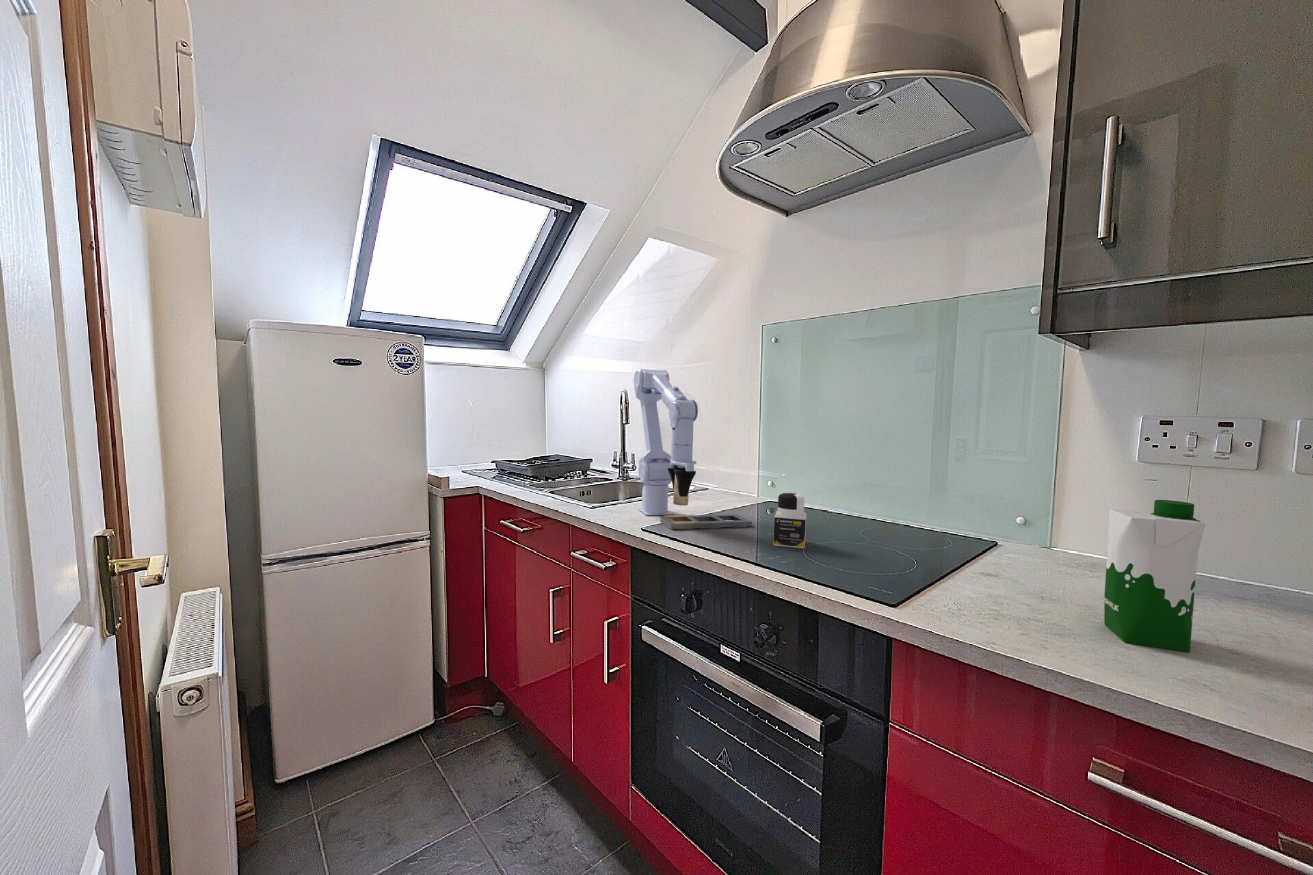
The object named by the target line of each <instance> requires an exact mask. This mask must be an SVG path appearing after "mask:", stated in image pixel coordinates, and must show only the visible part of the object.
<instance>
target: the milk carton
mask: <svg viewBox="0 0 1313 875" xmlns="http://www.w3.org/2000/svg"><path fill="white" fill-rule="evenodd" d="M1194 511H1195V504H1194V503H1192V502H1185V501H1180V500H1178V501H1177V500H1169V499H1155V500H1154V503H1153V511H1148V510H1140V509H1130V510H1126V509H1115V508H1110V509H1109V514H1108V515H1109V518H1108V519H1109V520H1108V521H1109V522H1108V523H1109V524H1108V539H1107V553H1106V569H1105V582H1104V583H1105V584H1104V594H1103V595H1104V596H1103V597H1104V598H1103V599H1104V606H1103V608H1104V610H1103V612H1104V616H1103V617H1104V626H1106V627H1107V628H1108V629H1109V630H1110V631H1112V632H1113V633H1114V635H1116V637H1118V638H1119V639H1120V640H1121V641H1122V642H1124V643H1127V644H1133V645H1140V646H1143V647H1146V646H1147V647H1153V648H1158V649H1165V650H1172V651H1177V652H1184V653H1191V645H1192V644H1191V643H1192V631H1193V618H1194V617H1193V616H1194V606H1195V605H1194V603H1195V593H1196V579H1197V578H1196V577H1197V568H1198V567H1197V566H1198V559H1199V558H1198V557H1199V549H1200V545H1201V541H1202V540H1203V539H1202V538H1203V535H1204V532H1205V527H1206V523H1205V522H1203V521H1202V522H1201V520H1198V519H1196V518H1195V517H1194V513H1195V512H1194Z"/></svg>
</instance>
